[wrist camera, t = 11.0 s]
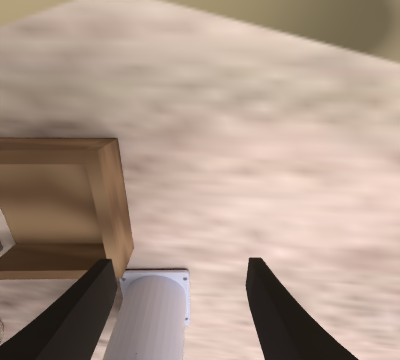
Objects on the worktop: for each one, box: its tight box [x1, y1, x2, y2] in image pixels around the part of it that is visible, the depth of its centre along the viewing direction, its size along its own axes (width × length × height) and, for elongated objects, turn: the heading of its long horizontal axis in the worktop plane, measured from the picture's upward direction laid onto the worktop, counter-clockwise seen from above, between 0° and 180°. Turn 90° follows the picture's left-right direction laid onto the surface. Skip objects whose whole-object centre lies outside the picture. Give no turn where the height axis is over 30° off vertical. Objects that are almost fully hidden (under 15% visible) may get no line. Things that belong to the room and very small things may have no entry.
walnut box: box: [0, 138, 134, 280], centre depth 18 cm, size 12×12×4 cm
